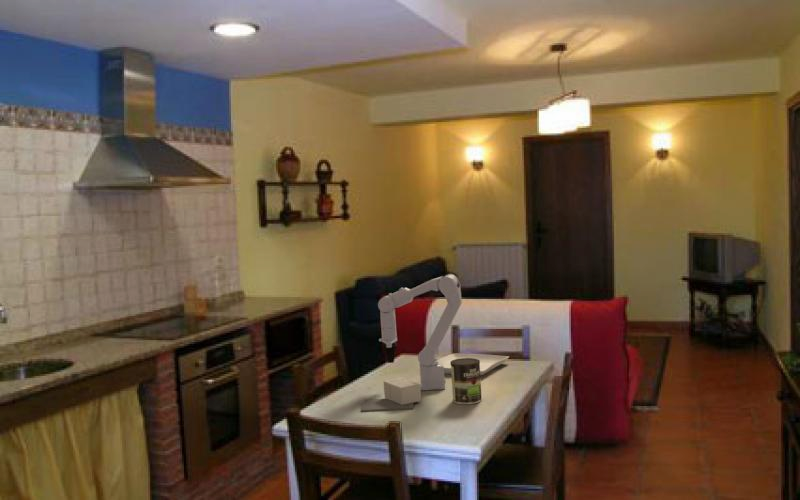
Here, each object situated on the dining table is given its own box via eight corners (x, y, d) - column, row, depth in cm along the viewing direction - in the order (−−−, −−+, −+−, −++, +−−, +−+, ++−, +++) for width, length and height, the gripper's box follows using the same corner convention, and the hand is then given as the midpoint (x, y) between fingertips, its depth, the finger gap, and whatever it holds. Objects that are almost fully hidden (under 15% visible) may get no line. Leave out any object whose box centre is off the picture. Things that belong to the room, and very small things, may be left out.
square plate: (510, 364, 306) (510, 355, 306) (483, 380, 282) (483, 370, 282) (453, 360, 320) (452, 351, 320) (423, 375, 297) (422, 365, 296)
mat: (413, 398, 262) (413, 396, 262) (413, 409, 249) (412, 407, 249) (364, 401, 262) (364, 399, 262) (360, 411, 249) (360, 410, 249)
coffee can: (487, 401, 252) (485, 361, 251) (462, 406, 248) (460, 366, 247) (471, 394, 262) (469, 356, 261) (447, 400, 257) (444, 361, 256)
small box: (384, 398, 263) (401, 405, 251) (383, 380, 262) (400, 387, 251) (403, 394, 267) (421, 401, 255) (402, 377, 266) (420, 383, 255)
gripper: (379, 324, 284) (381, 358, 285) (377, 331, 270) (379, 367, 271) (397, 323, 284) (399, 357, 285) (396, 330, 270) (398, 366, 271)
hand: (391, 362), depth 278 cm, fingers closed
